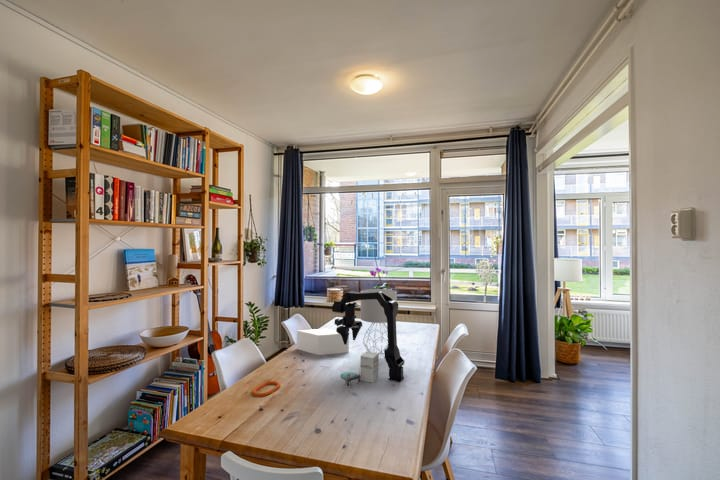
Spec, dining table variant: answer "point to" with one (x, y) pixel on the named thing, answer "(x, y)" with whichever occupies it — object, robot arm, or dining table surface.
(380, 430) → the dining table surface
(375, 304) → the table lamp
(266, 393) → the orange oval ring
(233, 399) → the dining table surface
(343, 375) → the teal round disc
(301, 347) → the block
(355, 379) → the grey cabinet handle
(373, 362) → the supplement box
